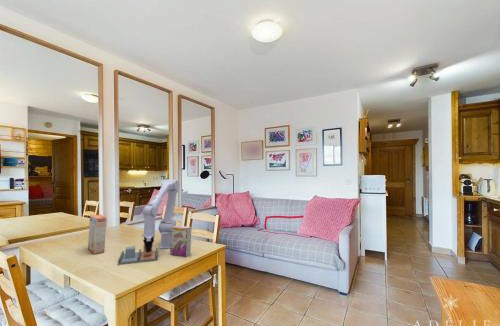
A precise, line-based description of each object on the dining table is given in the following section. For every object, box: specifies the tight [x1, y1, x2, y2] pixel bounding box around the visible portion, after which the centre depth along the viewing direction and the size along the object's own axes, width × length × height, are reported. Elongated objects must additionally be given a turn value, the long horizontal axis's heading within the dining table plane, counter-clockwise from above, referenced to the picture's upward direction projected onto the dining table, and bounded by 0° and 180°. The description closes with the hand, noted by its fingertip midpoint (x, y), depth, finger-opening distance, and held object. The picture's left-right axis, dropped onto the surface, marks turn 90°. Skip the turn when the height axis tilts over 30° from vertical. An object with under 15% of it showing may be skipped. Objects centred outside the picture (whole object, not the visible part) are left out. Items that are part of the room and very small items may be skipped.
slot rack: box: [117, 247, 159, 266], centre depth 125 cm, size 19×14×2 cm
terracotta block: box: [142, 243, 154, 255], centre depth 127 cm, size 4×4×5 cm
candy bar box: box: [170, 224, 192, 258], centre depth 133 cm, size 11×5×16 cm, turn 71°
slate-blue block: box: [124, 245, 136, 259], centre depth 124 cm, size 4×4×5 cm
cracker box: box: [87, 214, 108, 255], centre depth 136 cm, size 14×6×21 cm, turn 47°
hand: (148, 250), depth 127 cm, fingers closed on terracotta block, 4 cm apart
